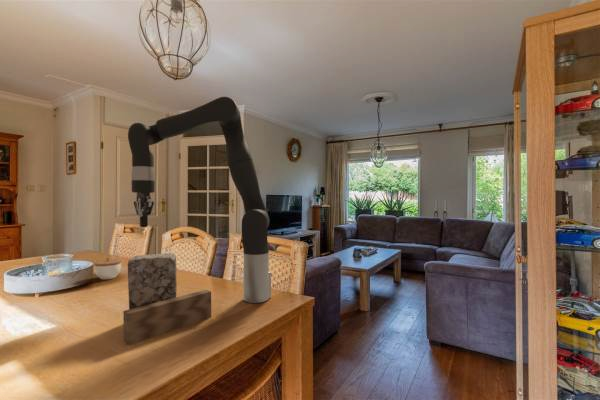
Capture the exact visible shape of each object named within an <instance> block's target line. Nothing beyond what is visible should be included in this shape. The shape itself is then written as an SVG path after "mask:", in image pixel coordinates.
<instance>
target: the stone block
mask: <svg viewBox="0 0 600 400" xmlns="http://www.w3.org/2000/svg"><path fill="white" fill-rule="evenodd" d="M127 284H128V285H127V286H128V287H127V289H128V290H127V291H128V310H130V309H133V308H137V307H141V306H145V305H149V304H153V303H156V302H160V301H164V300H168V299H172V298H176V297H177V285H178V284H177V257H176V255H175V253H171V252H170V253H153V254H152V253H151V254H140V255H135V256H133V257H132V256H131V258H129V259H128V263H127Z"/></svg>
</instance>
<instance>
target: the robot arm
mask: <svg viewBox="0 0 600 400" xmlns="http://www.w3.org/2000/svg"><path fill="white" fill-rule="evenodd" d="M214 122H217V123H219V126H220V128H221V132H222V133H223V137H224V141H225V146H226V147H225V148H226V149H225V150H226V161H227V166H228V170H229V174H230V176H231V180H232V181H233V184H234V185H235V187H236V189H237V192H238V193H239V195H240V197H241V200H242V204H243V207H244V212H245V213H244V215H243V216H242V218H241V244H242V249H243V301H244V302H246V303H250V304H258V303H264V302H266V301H268V300H269V299H270V298H272V273H271V271H270V261H269V259H270V254H269V253H270V252H269V250H270V247H269V243H268V228H269V226H270V222H271V221H270V220H271V219H270V216H269V214H268V210H267V208H266V206H265V204H264V200H263V198H262V195H261V190H260V185H259V180H258V176H257V171H256V168H255V163H254V160H253V157H252V153H251V151H250V148H249V145H248V143H247V141H246V138H245V134H244V131H243V124H242V116H241V110H240V108H239V107H238V104H237V103H236V101H235V100H234V99H233V98H232V97H230V96H219V97H218V98H215V99H213V100H211V101H209V102H207V103H205V104H203V105H200V106H198V107H195V108H192V109H190V110H187V111H185V112H181V113H178V114H174V115H171V116H167V117H163V118H160V119H158V120H157V121H156V122H155V124H152V125H149V126H148V125H146V124H144V123H142V122H141V123H140V122H135V123H132V124H131V125H130V126H129V128H128V132H127V138H128V144H129V149H130V151H131V156H132V157H131V172H130V173H131V179H130V180H131V193H134V194H136V198H135V201H133V206H134V209H135V213H136V216H138V218H139V228H147V227H148V225H149V224H148V221H149V220H148V217H149V216H151V214H152V211H153V208H154V204H155V202H154V200H153V201H152V197H151V194H153V193H155V191H156V190H155V187H156V186H155V184H156V183H155V181H156V180H155V179H156V177H155V175H156V174H155V161H154V160H155V158H154V154H153V152H152V151H151V149H150V146H153V145H156V144H158V143H160V142H162V141H164V140H166V139H169V138H173V137H178V136H180V135H183V134H186V133H188V132H190V131H193V130H194V129H195V128H197V127H200V126H201V125H204V124H208V123H214Z"/></svg>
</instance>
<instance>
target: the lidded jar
mask: <svg viewBox="0 0 600 400" xmlns="http://www.w3.org/2000/svg"><path fill="white" fill-rule="evenodd" d="M121 269H122V260H121V259H117V258H112V259H110V257H106V259H102V260H98V261H95V262H94V271H95V274H96V276H97V277H98V278H99V279H100V280H111V279H114V278H116V277H117V275H119V273H120V271H121Z"/></svg>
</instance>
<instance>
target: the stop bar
mask: <svg viewBox="0 0 600 400" xmlns="http://www.w3.org/2000/svg"><path fill="white" fill-rule="evenodd" d="M122 312H123V314H122V315H123V342H124V344H126V345H127V346H131V345H132V344H135V343H138V342H141V341H144V340H147V339H150V338H153V337H156V336H159V335H162V334H165V333H168V332H170V331H174V330H177V329H180V328H183V327H186V326H189V325H191V324H195V323H198V322H200V321H203V320H206V319H208V318H209V319H210V318H212V291H211V290H208V289H203V290H199V291H196V292H192V293H189V294H185V295H184V294H183V295H181V296H176V298H172V299H168V300H164V301H160V302H156V303H153V304H149V305H145V306H141V307H137V308H133V309H130V310H129V309H126V310H123V311H122Z"/></svg>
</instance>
